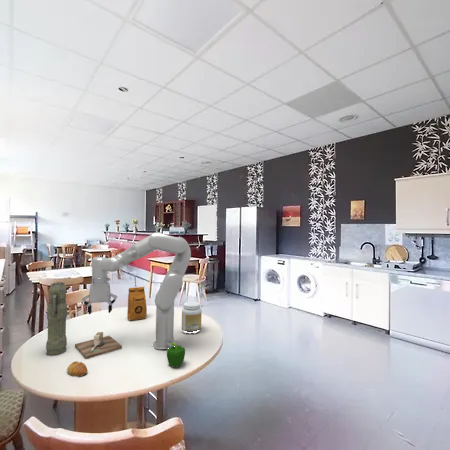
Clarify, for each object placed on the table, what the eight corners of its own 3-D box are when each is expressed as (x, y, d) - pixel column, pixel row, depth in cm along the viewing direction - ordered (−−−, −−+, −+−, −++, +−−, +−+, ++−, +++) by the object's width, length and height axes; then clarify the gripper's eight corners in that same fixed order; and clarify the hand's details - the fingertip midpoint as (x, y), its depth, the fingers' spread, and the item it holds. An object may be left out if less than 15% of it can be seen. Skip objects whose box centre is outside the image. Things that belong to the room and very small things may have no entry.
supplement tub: (205, 331, 174) (205, 304, 174) (190, 336, 165) (190, 308, 165) (192, 326, 182) (193, 300, 182) (177, 331, 173) (178, 303, 173)
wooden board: (122, 348, 147) (122, 345, 147) (85, 359, 135) (85, 355, 135) (109, 338, 161) (109, 335, 161) (74, 346, 148) (74, 343, 148)
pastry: (91, 372, 123) (91, 364, 123) (76, 380, 118) (77, 371, 118) (79, 366, 128) (79, 358, 128) (64, 373, 123) (64, 364, 123)
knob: (95, 342, 151) (95, 331, 151) (105, 341, 151) (106, 331, 151) (85, 351, 139) (86, 340, 139) (97, 351, 140) (97, 340, 140)
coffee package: (147, 319, 193) (148, 287, 193) (128, 322, 187) (129, 289, 187) (144, 315, 202) (145, 285, 202) (126, 317, 196) (127, 286, 196)
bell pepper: (188, 365, 131) (188, 344, 131) (173, 371, 126) (173, 349, 126) (178, 358, 137) (178, 338, 137) (163, 364, 132) (163, 343, 132)
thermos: (67, 345, 150) (69, 280, 150) (64, 355, 139) (66, 285, 139) (48, 348, 146) (50, 281, 146) (43, 358, 135) (45, 286, 135)
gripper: (118, 278, 154) (118, 309, 154) (83, 280, 150) (84, 312, 150) (116, 281, 146) (116, 313, 146) (80, 282, 142) (80, 316, 142)
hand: (100, 312), depth 148 cm, fingers open, 9 cm apart
